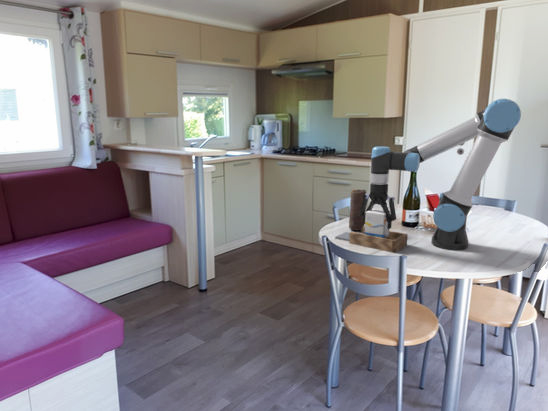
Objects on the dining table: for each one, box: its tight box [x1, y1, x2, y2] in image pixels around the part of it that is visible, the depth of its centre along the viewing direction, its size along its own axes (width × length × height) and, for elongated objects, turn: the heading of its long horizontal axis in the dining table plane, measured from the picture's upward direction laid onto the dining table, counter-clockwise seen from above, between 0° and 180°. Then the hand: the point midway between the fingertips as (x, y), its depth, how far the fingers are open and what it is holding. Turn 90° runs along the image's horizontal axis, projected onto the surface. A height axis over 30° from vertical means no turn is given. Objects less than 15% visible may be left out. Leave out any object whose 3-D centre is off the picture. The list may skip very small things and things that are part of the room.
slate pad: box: [334, 231, 350, 242], centre depth 204 cm, size 8×10×1 cm
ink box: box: [364, 208, 390, 238], centre depth 194 cm, size 9×8×12 cm
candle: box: [348, 189, 367, 231], centre depth 214 cm, size 8×7×20 cm
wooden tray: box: [348, 225, 409, 254], centre depth 195 cm, size 21×13×5 cm, turn 52°
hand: (376, 233), depth 195 cm, fingers closed on ink box, 9 cm apart
